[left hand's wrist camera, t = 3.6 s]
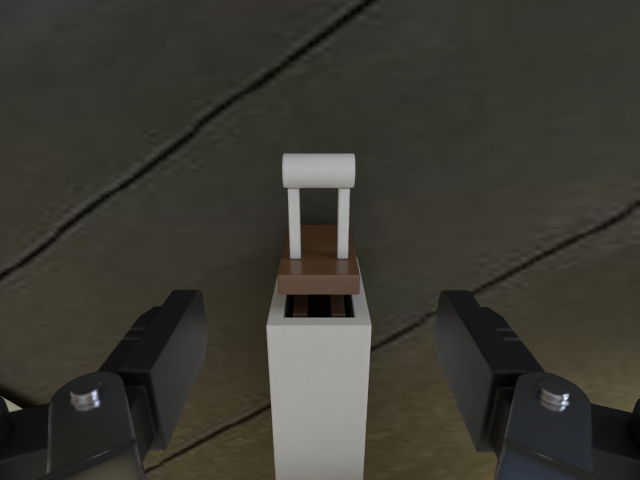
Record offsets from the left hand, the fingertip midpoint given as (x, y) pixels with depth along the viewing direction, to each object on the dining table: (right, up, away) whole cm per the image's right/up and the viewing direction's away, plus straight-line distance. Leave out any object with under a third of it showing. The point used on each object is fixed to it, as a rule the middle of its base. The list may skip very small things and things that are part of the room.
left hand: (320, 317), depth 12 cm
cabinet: (0, -6, +21) cm, 22 cm away
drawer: (0, -1, +18) cm, 18 cm away
